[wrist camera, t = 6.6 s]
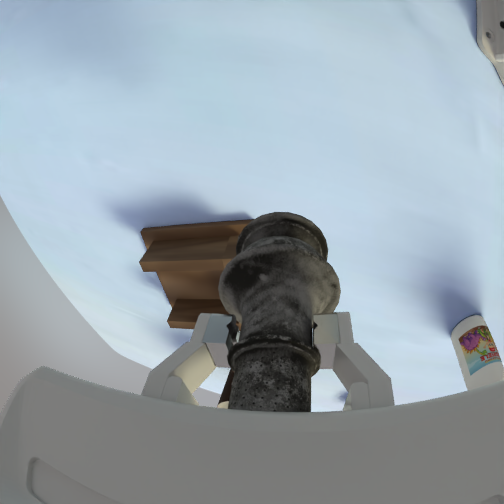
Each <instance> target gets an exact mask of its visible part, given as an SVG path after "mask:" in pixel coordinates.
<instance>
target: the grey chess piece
mask: <svg viewBox="0 0 504 504" xmlns="http://www.w3.org/2000/svg"><path fill="white" fill-rule="evenodd" d="M327 255H328V247H327V243H326V239H325V237H324V235H323V233H322V232H321V230H320V229H319V228H318V227H317V226H316V225H315V224H314V223H313V222H312V221H310V220H308V219H306V218H305V217H303V216H301V215H297V214H293V213H289V212H274V213H269V214H265V215H262V216H260V217H258V218H256V219H254V220H252V221H251V222H250V223H249V224H248V225H247V226H245V227H244V228H243V230H242V232H241V233H240V235H239V237H238V240H237V245H236V257H234V258H233V259H232V260H231V261H230V262H229V263H228V264H227V265H226V267H225V268H224V270H223V272H222V274H221V275H220V280H219V286H218V290H219V296H220V300H221V302H222V304H223V306H224V307H225V309H226V311H227V312H228V313H229V314H234V315H235V316H236V320H237V321H238V322H240V323H241V324H242V325H241V330H240V335H239V340H238V343H236V344H234V345H233V346H232V347H231V349H230V350H229V352H228V356H227V360H228V364H229V366H230V367H231V369H232V370H233V371H234V377H233V383H232V388H231V394H230V399H229V404H228V409H235V410H248V411H266V412H311V377H312V376H314V375H315V374H316V373H317V371H318V370H319V369H320V365H321V359H320V355H319V353H318V352H317V351H316V350H315V349H314V348H313V339H312V328H313V313H333V312H334V310H335V308H336V306H337V305H338V303H339V298H340V293H341V290H340V284H339V278H338V276H337V275H336V273H335V271H334V269H333V267H332V266H331V265H330V264H329V263H328V262H327Z"/></svg>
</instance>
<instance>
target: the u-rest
mask: <svg viewBox="0 0 504 504" xmlns="http://www.w3.org/2000/svg"><path fill="white" fill-rule="evenodd" d="M252 220H254V219H252ZM252 220H237V221H223V222H210V223H197V224H185V225H173V226H162V227H151V228H143V229H142V231H141V232H140V233H141V235H142V238H143V240H144V243H145V246H146V248H147V251H146V253H145V254H144V255H143V257H142V258H141V260H140V261H139V263H140V265H141V267H142V270H143V272H157V275H158V277H159V280H160V282H161V284H162V286H163V289H164V291H165V293H166V295H167V298H168V300H169V302H170V304H171V306H172V310H171V313H170V315H169V317H168V320H167V322H168V324H169V326H170V328H182V329H194V328H195V325H196V322H197V319H198V316H199V315H200V314H201V313H210V314H212V313H213V314H229V313H228V312H227V311H226V309H225V307H224V306H223V304H222V302H221V300H220V296H219V290H218V286H219V280H220V275H221V274H222V272H223V270H224V268H225V267H226V265H227V264H228V263H229V262H230V261H231V260H232V259H233V258H234V257H236V245H237V240H238V237H239V235H240V233H241V232H242V230H243V228H244V227H245V226H247V225H248V224H249V223H250V222H251V221H252ZM236 325H237V326H238V327H239V331H240V330H241V325H242V324H241V323H240V322H238V321H237V320H236Z"/></svg>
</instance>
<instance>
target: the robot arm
mask: <svg viewBox="0 0 504 504" xmlns="http://www.w3.org/2000/svg"><path fill="white" fill-rule="evenodd" d="M476 2H477V43H478V46H479V47H480V49H481V50H482V52H483V53H484V54H485V55H486V56H487V58H488V59H489V60H490V61H491V62H492V63H493V65H494V66H495V68H496V70H497V72H498V74H499V76H500V79H501V81H502V83H503V85H504V0H476ZM486 33H487V35H488V37H487V36H486ZM239 335H240V332H239V327H238V326H237V325H236V316H235V315H234V314H213V313H212V314H210V313H201V314H200V315H199V316H198V319H197V322H196V325H195V328H194V331H193V334H192V337H191V340H190V342H186V343H185V344H183V345H182V346H181V347H180V348H179V349H177V350H176V351H175V352H174V353H172V354H171V355H170V356H169V357H168V358H166V359H165V360H164V361H163V362H162V363H160V364H159V365H158V366H157V367H155V368H154V369H153V370H152V371H150V373H149V376H148V378H147V381H146V383H145V386H144V389H143V391H142V394H141V395H138V394H134V393H129V392H125V391H121V390H117V389H114V388H110V387H106V386H102V385H99V384H96V383H92V382H89V381H85V380H83V379H79V378H77V377H74V376H71V375H68V374H64V373H62V372H59V371H56V370H54V369H51V368H49V367H45V366H42V367H39V368H37V369H36V370H34V371H32V372H31V373H29V374H28V375H26V376H25V377H24V378H22V379H21V380H20V381H19V382H18V384H17V385H16V387H15V388H14V390H13V391H12V393H11V395H10V396H9V398H8V400H7V402H6V404H5V405H4V407H3V409H2V411H1V413H0V504H504V380H501V381H498V382H495V383H492V384H489V385H486V386H482V387H479V388H475V389H472V390H468V391H465V392H461V393H457V394H453V395H448V396H444V397H440V398H435V399H430V400H425V401H420V402H414V403H408V404H402V405H394V397H393V390H392V384H391V378H390V377H389V376H388V375H387V374H386V373H385V372H384V371H383V370H382V369H381V368H380V367H379V365H378V364H377V363H376V362H375V361H374V360H373V359H372V358H371V357H370V356H369V355H368V354H367V353H366V352H365V351H364V350H363V348H362V347H361V346H360V345H359V344H358V343H354V340H353V332H352V325H351V318H350V313H349V312H333V313H313V348H314V349H315V350H316V351H317V352H318V353H319V355H320V359H321V365H320V369H333V371H334V372H335V374H336V375H337V377H338V378H339V379H340V381H341V382H342V384H343V385H344V387H345V388H346V389H347V391H348V392H349V393H348V396H347V399H346V402H345V405H344V408H343V411H331V412H266V411H248V410H235V409H224V408H215V407H206V406H199V404H198V402H197V401H196V399H195V398H194V396H193V395H192V393H193V392H194V391H195V390H196V389H197V388H198V387H199V386H200V385H201V384H202V383H203V382H204V380H205V379H206V378H207V377H208V376H209V375H210V374H211V373H212V372H213V371H214V369H215V368H216V367H229V368H231V367H230V366H229V364H228V360H227V356H228V352H229V350H230V349H231V347H232V346H233V345H234V344H236V343H238V340H239Z"/></svg>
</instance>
